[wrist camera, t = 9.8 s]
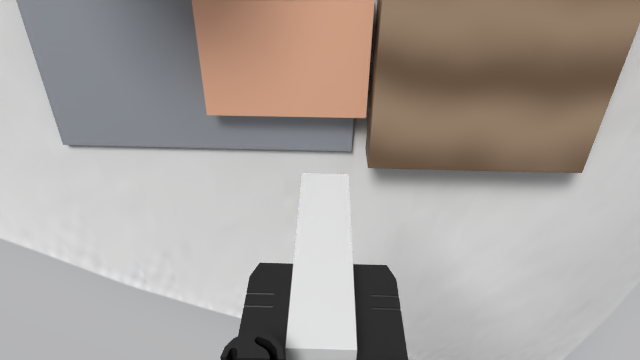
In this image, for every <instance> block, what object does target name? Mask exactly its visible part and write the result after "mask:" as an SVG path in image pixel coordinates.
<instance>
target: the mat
mask: <svg viewBox="0 0 640 360" xmlns="http://www.w3.org/2000/svg"><path fill="white" fill-rule="evenodd" d="M16 1H17V4H18V7H19V10H20V13H21V16H22V19H23V22H24V25H25V28H26V32H27V35H28V38H29V41H30V44H31V47H32V50H33V53H34V56H35V59H36V62H37V65H38V68H39V72H40V75H41V78H42V81H43V84H44V87H45V90H46V93H47V96H48V99H49V102H50V105H51V108H52V111H53V115H54V118H55V121H56V124H57V127H58V130H59V133H60V136H61V139H62V142H63V145H97V146H141V147H185V148H229V149H273V150H317V151H352V136H353V120H354V118H333V117H277V116H222V115H207V112H206V104H205V97H204V89H203V82H202V74H201V67H200V59H199V52H198V44H197V37H196V29H195V22H194V14H193V7H192V0H16Z"/></svg>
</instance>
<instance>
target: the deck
mask: <svg viewBox="0 0 640 360" xmlns="http://www.w3.org/2000/svg"><path fill="white" fill-rule="evenodd" d="M639 23H640V0H378V1H377V14H376V26H375V39H374V51H373V63H372V76H371V88H370V101H369V113H368V125H367V138H366V156H367V164H368V168H391V169H434V170H478V171H522V172H566V173H582V171H583V169H584V166H585V164H586V161H587V158H588V156H589V153H590V151H591V148H592V145H593V143H594V140H595V138H596V135H597V132H598V130H599V127H600V125H601V122H602V120H603V117H604V114H605V112H606V109H607V107H608V104H609V101H610V99H611V96H612V94H613V91H614V88H615V86H616V83H617V81H618V78H619V75H620V73H621V70H622V68H623V65H624V62H625V60H626V57H627V55H628V52H629V49H630V47H631V44H632V42H633V39H634V36H635V34H636V31H637V29H638V26H639Z"/></svg>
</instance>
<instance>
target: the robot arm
mask: <svg viewBox="0 0 640 360" xmlns="http://www.w3.org/2000/svg"><path fill="white" fill-rule="evenodd" d="M220 358H221V360H408V356H407V350H406V343H405V336H404V329H403V322H402V316H401V311H400V302H399V298H398V288H397V282H396V278H395V277H394V275H393V274H392V272H391V271H390V269H389V268H388V267H387V265H359V264H353V255H352V234H351V214H350V193H349V174H317V173H302V178H301V189H300V199H299V210H298V220H297V231H296V241H295V252H294V263H293V264H282V263H259V265H258V266H257V267H256V269H255V270H254V271H253V273H252V274H251V275H250V278H249V283H248V288H247V295H246V298H245V304H244V309H243V314H242V319H241V324H240V329H239V335H238V337H236V338H234V339H233V340H232V341H231V342H230V343H228V345H227V346H226V347H225V348H224V350H223V353H222V355H221V357H220Z"/></svg>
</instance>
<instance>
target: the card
mask: <svg viewBox="0 0 640 360" xmlns="http://www.w3.org/2000/svg"><path fill="white" fill-rule="evenodd" d="M192 7H193V14H194V22H195V29H196V37H197V44H198V52H199V59H200V67H201V74H202V82H203V89H204V97H205V104H206V112H207V115H222V116H277V117H333V118H366V111H367V98H368V84H369V70H370V56H371V42H372V29H373V15H374V0H192Z"/></svg>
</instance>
